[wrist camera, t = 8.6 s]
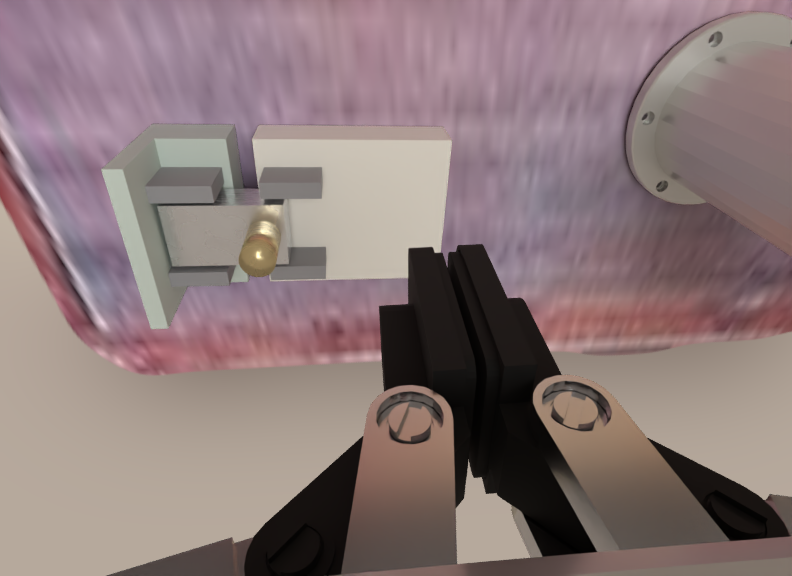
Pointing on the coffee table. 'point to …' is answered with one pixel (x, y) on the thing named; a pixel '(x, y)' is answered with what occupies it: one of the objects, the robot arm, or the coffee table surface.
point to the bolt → (229, 232)
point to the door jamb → (170, 183)
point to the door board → (354, 196)
